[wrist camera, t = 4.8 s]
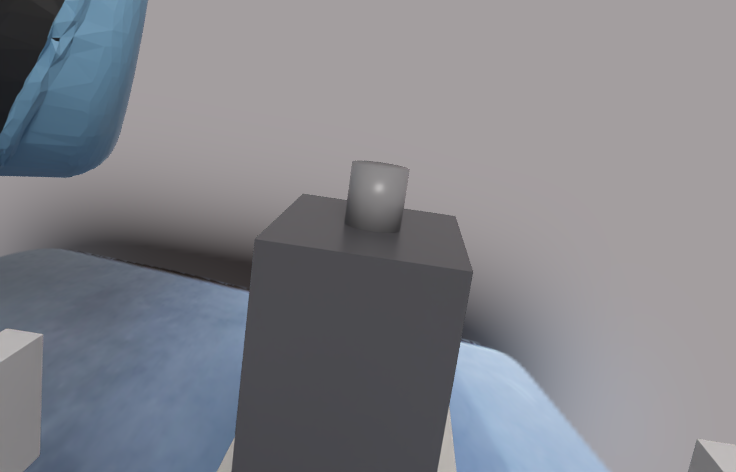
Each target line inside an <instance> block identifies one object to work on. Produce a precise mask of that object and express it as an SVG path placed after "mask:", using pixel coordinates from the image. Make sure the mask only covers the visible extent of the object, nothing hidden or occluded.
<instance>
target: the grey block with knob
mask: <svg viewBox="0 0 736 472" xmlns="http://www.w3.org/2000/svg"><path fill="white" fill-rule="evenodd" d="M408 176H409V169H408V168H405V167H402V166H398V165H393V164H386V163H381V162H373V161H353V162H352V169H351V176H350V184H349V191H348V199H347V200H342V199H335V198H328V197H321V196H315V195H308V194H302V195H301V196H300V197H299V198H298V199H297V200H296V201H295V202H294V203H293V204H292V205H291V206H289V207H288V208H287V209H286V210H285V211H284V212H283V213H282V214H281V215H280V216H279V217H278V218H277V219H276V220H275V221H273V222H272V223H271V224H270V225H269V226H268V227H267V228H266V229H265V230H264V231H263V232H262V233H261V234H260V235H259V236H257V237H256V238H255V242H254V253H253V262H252V272H251V281H250V282H251V283H250V291H249V301H248V311H247V321H246V331H245V341H244V351H243V361H242V371H241V381H240V391H239V401H238V411H237V421H236V431H235V441H234V451H233V461H232V471H231V472H437V470H438V464H439V459H440V453H441V448H442V442H443V437H444V431H445V425H446V420H447V414H448V409H449V403H450V398H451V392H452V387H453V381H454V375H455V370H456V364H457V359H458V353H459V348H460V342H461V336H462V331H463V325H464V320H465V314H466V308H467V303H468V297H469V291H470V286H471V281H472V274H473V270H472V267H471V264H470V261H469V258H468V255H467V251H466V248H465V245H464V242H463V239H462V236H461V233H460V229H459V226H458V223H457V220H456V217H455V216H450V215H444V214H437V213H430V212H423V211H416V210H409V209H404V203H405V196H406V189H407V183H408Z"/></svg>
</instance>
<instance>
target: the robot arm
mask: <svg viewBox="0 0 736 472" xmlns="http://www.w3.org/2000/svg"><path fill="white" fill-rule="evenodd" d="M147 3H148V0H0V176H29V177H63V178H66V177H72V176H75V175H79V174H83V173H85V172H87V171H89V170H91V169H94V168H96V167H97V166H98V165H100V164H101V163H102V162H103V161H104V160H105V159H106V158H108V157H109V155H110V154H111V152H112V151H113V149H114V147H115V145H116V143H117V140H118V138H119V135H120V132H121V128H122V124H123V120H124V116H125V113H126V109H127V105H128V101H129V96H130V92H131V87H132V83H133V78H134V74H135V68H136V63H137V59H138V54H139V48H140V43H141V38H142V33H143V27H144V21H145V15H146V9H147ZM42 360H43V334H38V333H32V332H26V331H20V330H13V329H5V330H3V331H1V332H0V472H23V471H24V470H25V469H27V468H28V467H29V466H30V465H31V464H32V463H33V462H34V461H35V460H36V459H37V458H38V457H39V456H40V435H41V398H42ZM688 472H736V445H732V444H726V443H720V442H713V441H708V440H701V439H697V441H696V445H695V449H694V452H693V456H692V460H691V463H690V467H689V470H688Z"/></svg>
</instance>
